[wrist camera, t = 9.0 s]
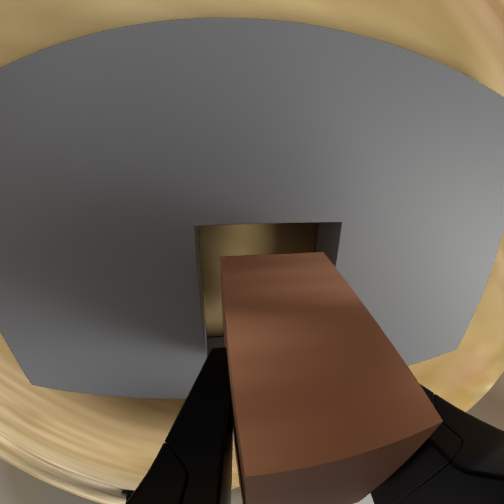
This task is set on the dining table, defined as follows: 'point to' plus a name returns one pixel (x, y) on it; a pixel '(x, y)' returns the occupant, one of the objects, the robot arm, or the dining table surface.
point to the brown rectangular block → (313, 384)
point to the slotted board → (233, 189)
